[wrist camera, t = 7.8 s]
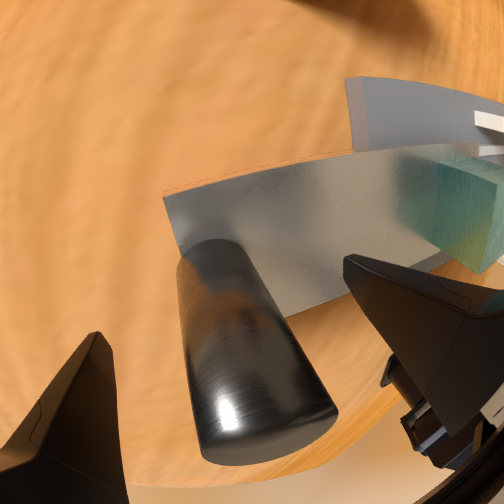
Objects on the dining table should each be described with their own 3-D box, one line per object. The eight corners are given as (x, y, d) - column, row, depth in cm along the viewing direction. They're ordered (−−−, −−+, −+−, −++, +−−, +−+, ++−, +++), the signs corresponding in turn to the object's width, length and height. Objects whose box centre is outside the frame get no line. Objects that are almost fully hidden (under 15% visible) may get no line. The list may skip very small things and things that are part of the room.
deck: (503, 216, 22) (514, 223, 21) (354, 291, 18) (370, 308, 17) (509, 108, 15) (523, 111, 14) (344, 78, 11) (369, 75, 10)
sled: (462, 231, 16) (537, 281, 9) (201, 332, 13) (239, 484, 6) (470, 140, 12) (564, 175, 6) (150, 195, 9) (114, 368, 3)
